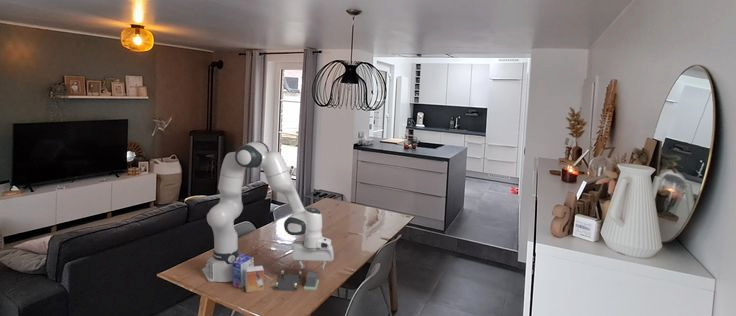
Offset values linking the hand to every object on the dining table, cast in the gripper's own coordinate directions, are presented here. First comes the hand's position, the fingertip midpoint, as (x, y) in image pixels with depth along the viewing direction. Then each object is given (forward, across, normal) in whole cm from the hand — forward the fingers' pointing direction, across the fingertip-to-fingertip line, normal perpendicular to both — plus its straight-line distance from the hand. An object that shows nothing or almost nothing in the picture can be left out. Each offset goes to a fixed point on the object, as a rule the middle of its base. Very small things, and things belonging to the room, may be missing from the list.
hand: (312, 268), depth 203 cm
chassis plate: (+8, -12, 0) cm, 15 cm away
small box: (+8, -27, -7) cm, 29 cm away
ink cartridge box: (+8, -34, -1) cm, 35 cm away
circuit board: (+9, 0, 0) cm, 9 cm away
